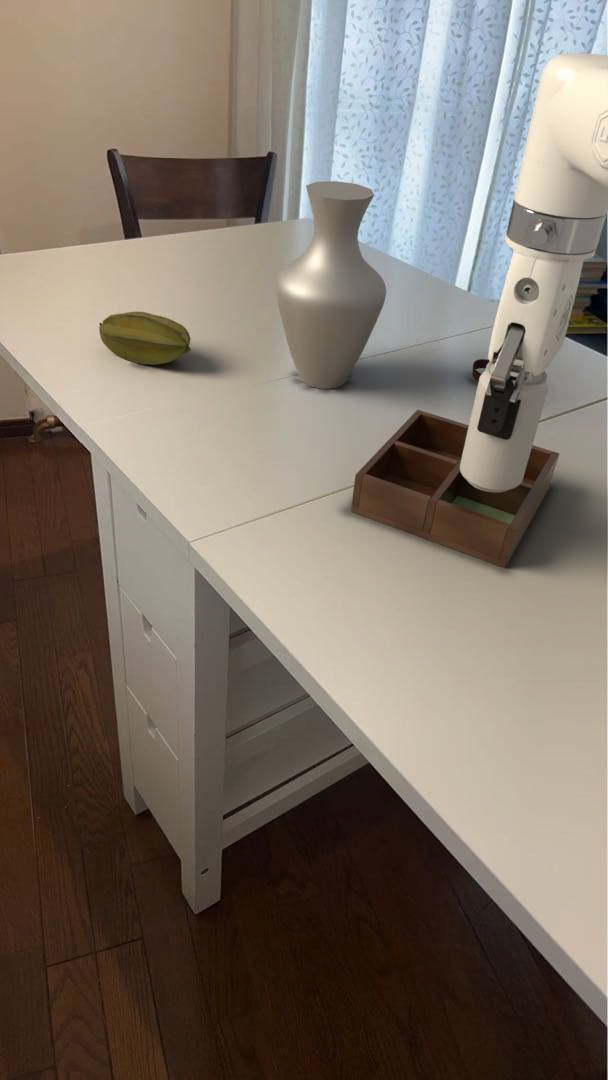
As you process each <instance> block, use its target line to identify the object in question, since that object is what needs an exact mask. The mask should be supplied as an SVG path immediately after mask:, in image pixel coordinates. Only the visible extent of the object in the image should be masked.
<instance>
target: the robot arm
mask: <svg viewBox="0 0 608 1080" xmlns="http://www.w3.org/2000/svg"><path fill="white" fill-rule="evenodd" d="M533 105H534V106H533V109H532V110H533V111H532V115H531V118H530V119H531V120H530V124H529V128H528V133H527V137H526V142H525V145H524V146H525V147H524V151H523V156H522V160H521V164H520V168H519V173H518V177H517V183H516V187H515V191H514V196H513V200H512V204H511V209H510V213H509V218H508V222H507V225H506V226H507V227H506V231H505V235H504V236H505V237H504V242H505V244H506V246H508V247H509V248H511V249H513V252H512V255H511V259H510V263H509V267H508V270H507V272H506V276H505V281H504V283H503V284H504V285H503V288H502V291H501V296H500V299H499V303H498V307H497V311H496V315H495V319H494V323H493V328H492V332H491V337H490V341H489V342H490V343H489V347H488V354H487V358H488V360H490V362H491V363H492V364H495V366H494V368H493V371H492V374H491V378H490V381H489V384H488V387H487V390H486V393H485V397H484V401H483V406H482V410H481V414H480V418H479V423H478V427H477V429H478V431H479V432H482V433H485V434H488V435H491V436H495V437H498V438H501V439H504V440H509V439H510V438H511V436H512V433H513V429H514V426H515V422H516V418H517V414H518V411H519V407H520V403H521V400H519V399H518V397H519V394H520V391H521V388H522V385H523V382H524V379H525V376H526V374H527V372H531V373H532V375H533V376H537V375H539V374H541V373H542V372H543V371H545V370H547V368H548V367H549V365H550V364H551V362H552V361H553V360H554V358H555V357H556V356H557V354H558V353H559V352H560V350H561V348H562V346H564V341H565V339H566V335H567V332H568V327H569V324H570V319H571V316H572V311H573V307H574V303H575V299H576V295H577V291H578V287H579V283H580V279H581V275H582V270H583V265H584V261H585V260H589V259H592V258H594V257H595V255H596V252H597V248H598V246H599V242H600V239H601V234H602V232H603V229H604V225H605V222H606V219H607V215H608V55H604V54H596V53H587V52H586V53H585V52H567V53H562V54H558V55H555V56H554V57H553V58H550V60H549V61H548V62H547V63H546V65H545V66H544V68H543V71H542V73H541V75H540V78H539V82H538V87H537V92H536V96H535V101H534V104H533ZM515 359H517V360H522V361H523V366H522V367H520V366H517V365H513V364H514V361H515ZM511 371H512V372H515V373H518V375H517V378H516V381H515V384H513V380H512V379H509V378H510V372H511ZM513 386H514V387H513Z"/></svg>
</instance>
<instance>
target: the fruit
mask: <svg viewBox="0 0 608 1080" xmlns="http://www.w3.org/2000/svg"><path fill="white" fill-rule="evenodd" d="M98 330H99V336H100V340H101V342H102V343H103V344H104V346H105V347H106V348H107V349H108V350H109V351H110V352H111V353H113V354H114V355H116V356H118V357H120V358H121V359H124V360H126V361H128V362H132V363H136V364H139V365H148V366H149V365H151V366H155V365H163V364H168V363H171V362H174V361H175V360H176V359H178V358H180V357H181V356H183V355H186V354H188V353H189V352H191V350H192V349H191V347H190V345H191V339H192V338H191V336H190V332H189V331H188V330H187V328H186V327H185V326H184V325H183V324H181V323H179V322H176V321H175V320H173V319H170V318H168V317H165V316H161V315H157V314H153V313H149V312H145V311H128V312H122V313H115V314H110V315H109V316H107V317H106V318H104V319H103V320H102V322H99V327H98Z"/></svg>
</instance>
